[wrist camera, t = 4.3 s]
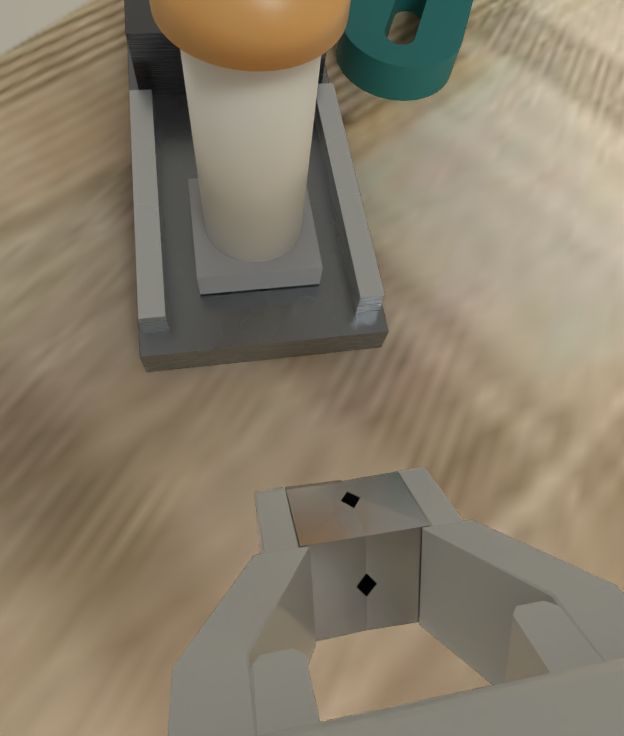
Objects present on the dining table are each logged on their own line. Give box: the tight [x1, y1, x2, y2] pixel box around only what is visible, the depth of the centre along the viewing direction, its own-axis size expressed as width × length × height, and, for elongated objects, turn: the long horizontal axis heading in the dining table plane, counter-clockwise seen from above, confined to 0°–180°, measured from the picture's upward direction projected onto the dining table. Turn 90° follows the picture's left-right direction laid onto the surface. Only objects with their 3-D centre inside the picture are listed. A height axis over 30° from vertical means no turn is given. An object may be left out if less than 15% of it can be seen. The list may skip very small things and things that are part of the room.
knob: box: [149, 0, 351, 294], centre depth 18 cm, size 5×5×12 cm
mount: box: [124, 0, 388, 372], centre depth 25 cm, size 19×10×5 cm, turn 9°
